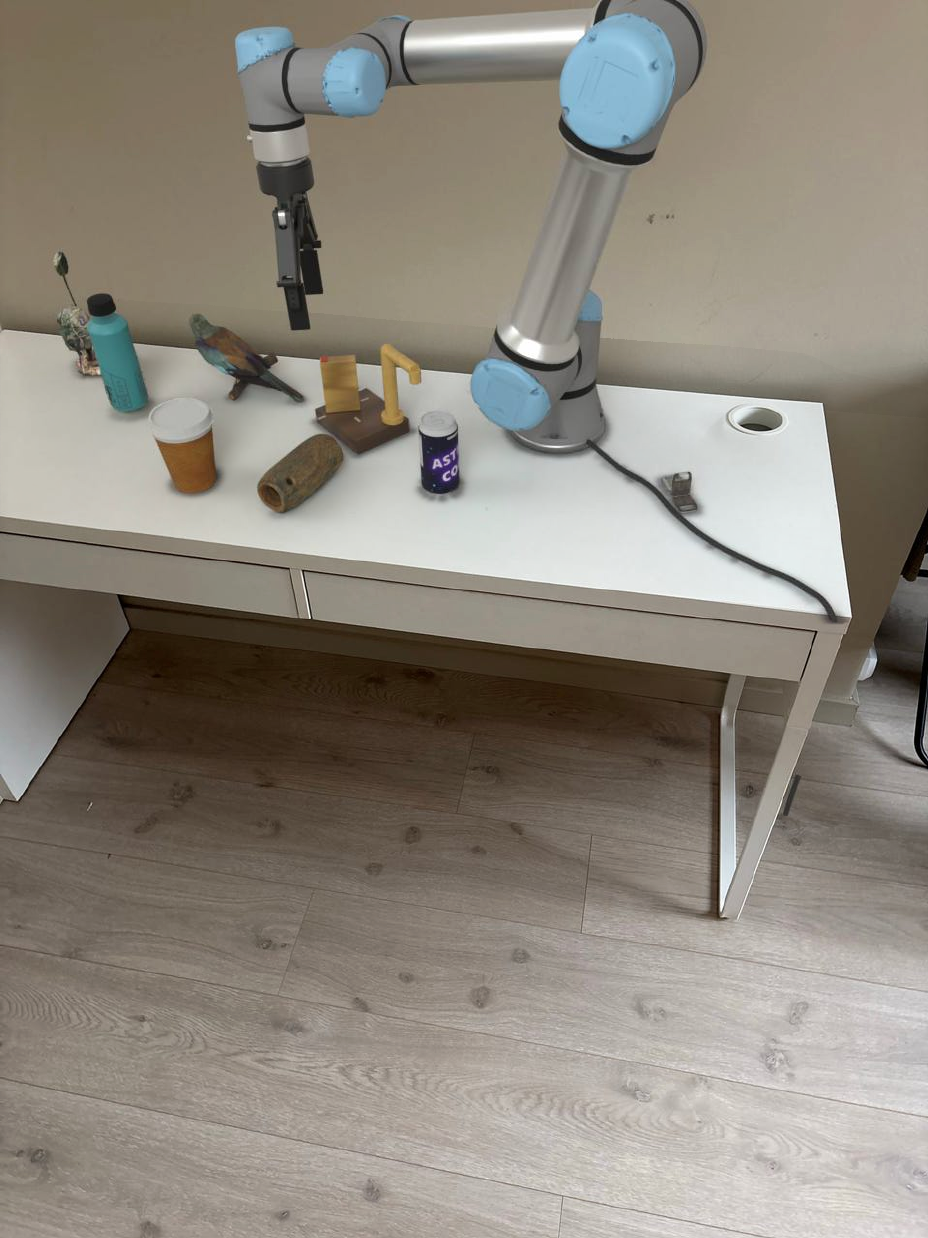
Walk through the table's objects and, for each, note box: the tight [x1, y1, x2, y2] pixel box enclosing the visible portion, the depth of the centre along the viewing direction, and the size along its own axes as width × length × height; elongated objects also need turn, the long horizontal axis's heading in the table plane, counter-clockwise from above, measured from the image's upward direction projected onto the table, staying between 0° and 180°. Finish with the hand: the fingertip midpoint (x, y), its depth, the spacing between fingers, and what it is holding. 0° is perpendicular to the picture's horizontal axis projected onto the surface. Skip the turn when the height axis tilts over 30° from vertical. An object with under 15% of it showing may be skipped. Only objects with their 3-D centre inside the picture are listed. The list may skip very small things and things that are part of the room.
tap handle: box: [319, 354, 361, 413], centre depth 161 cm, size 6×2×9 cm, turn 97°
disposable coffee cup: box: [146, 397, 217, 494], centre depth 151 cm, size 10×10×12 cm
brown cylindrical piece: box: [256, 433, 345, 514], centre depth 151 cm, size 15×7×7 cm, turn 155°
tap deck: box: [315, 387, 410, 455], centre depth 165 cm, size 14×11×3 cm
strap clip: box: [661, 470, 698, 514], centre depth 149 cm, size 8×3×4 cm, turn 11°
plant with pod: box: [52, 250, 101, 377], centre depth 174 cm, size 8×11×20 cm
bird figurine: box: [188, 313, 305, 403], centre depth 170 cm, size 13×10×20 cm
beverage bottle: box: [86, 292, 150, 412], centre depth 163 cm, size 6×7×20 cm
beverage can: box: [417, 409, 460, 497], centre depth 149 cm, size 6×6×12 cm
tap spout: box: [379, 343, 422, 425], centre depth 156 cm, size 10×4×13 cm, turn 38°
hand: (307, 310), depth 152 cm, fingers open, 13 cm apart
